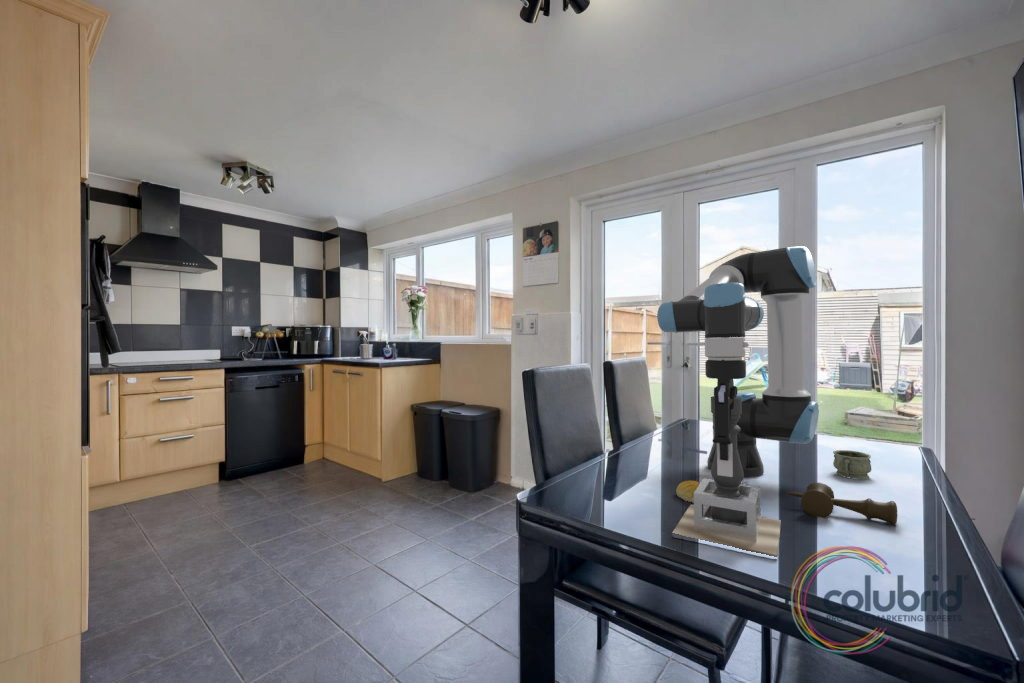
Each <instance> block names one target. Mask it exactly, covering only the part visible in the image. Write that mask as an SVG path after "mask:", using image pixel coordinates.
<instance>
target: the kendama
mask: <svg viewBox="0 0 1024 683" xmlns="http://www.w3.org/2000/svg"><path fill="white" fill-rule="evenodd" d="M785 493H786V495H789V496H792V497H797V498H801V499H800V503H801V508H802V509H803V510H804V512H805V513H806V514H808V515H809V516H812V517H815V518H823V519H824V518H827V517H828V518H829V517H830V516H831V514H832V513H833V510H834V508H835V507H839V508H843V509H846V510H849V511H852V512H855V513H857V514H860V515H862V516H864V517H865V518H866V519H868V520H871V519H876V520H880V521H883V522H885V523H888V524H889V525H890V526H892V527H895V526H896V525H897V523H898V506H897V503H896V502H895V501H894V500H890V501H887V502H881V501H880V502H879V501H875V500H872V498H866V499H864V500H861V499H860V500H855V499H854V500H853V499H840V498H835V494H834V490H833V489H832V488H831V486H829V485H827V484H826V483H822V482H812V483H809V484H808V486H807V487H806V491H804V492H803V493H802V492H801V493H800V492H794V491H785ZM834 506H835V507H834Z"/></svg>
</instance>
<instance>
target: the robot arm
mask: <svg viewBox="0 0 1024 683" xmlns="http://www.w3.org/2000/svg"><path fill="white" fill-rule="evenodd" d="M816 286H817V271H816V266H815V262H814V259H813V256H812V253H811V252H810V250H809V249H808V248H807V247H806V246H803V245H802V246H790V247H788V246H786V247H782V248H776V249H774V248H773V249H769V250H764V251H763V250H762V251H761V250H760V251H757V252H755V251H754V252H748V253H743V254H741V255H739V256H738V255H737V256H736V257H733V258H731V259H729V260H727V261H725V262H723V263H722V264H720V265H719V266H716V268H714V269H713V270H712V271H711V273H710V274H709V277H708V278H707V279H706V280H704V281H703V282H702V283H700V284H699V285H698V286H697V287H695V288H694V289H693V290H691V291H689V293H688V294H686V295H684V296H683V297H682V298H680V299H679V300H677V301H672V300H671V301H667V302H663V303H661V304H660V306H658V310H657V314H656V315H657V316H656V320H657V324H658V327H659V329H660V330H661V331H663V332H664V333H675V334H677V333H678V334H679V333H696V332H697V333H698V332H704V357H705V358H707V359H706V361H705V365H704V366H705V376H706V378H708V379H717V382H716V383H717V386H715V387H713V396H714V398H715V419H714V417H713V416H712V426H713V425H715V431H714V430H713V429H712V436H713V437H712V444H711V448H710V451H709V454H708V458H707V462H706V463H707V469H708V470H709V471H711V468H712V464H713V459H714V455H715V451H716V443H717V475H721V476H728V477H733V460H732V443H731V410H732V409H733V408H734V398H735V397H740V398H741V401H742V414H740V419H739V420H738V422H737V425H738V426H739V427H740V428H741V430H740V432H738V434H737V450H738V454H739V457H740V461H741V465H742V469H743V472H744V478H754V477H760V476H762V475H764V474H763V473H764V472H765V471H764V470H765V467H764V464H763V460H762V458H761V455H760V452H759V450H758V448H757V439H761V440H767V441H768V440H770V441H778V442H784V443H788V444H805V445H806V444H809V443H810V442H812V440H813V438H814V436H815V433H816V430H817V426H818V423H819V422H818V421H819V412H820V410H819V403H818V402H816V401H815V400H812V394H811V393H810V392H809V391H808V390H807V389H805V369H804V368H805V366H804V365H805V364H804V361H805V359H804V355H805V354H804V301H805V300H806V299H807V298H808V297H809V296H810V289H813V288H815V287H816ZM748 293H749V294H750V293H760V299H761V300H763V301H764V302H765V303H766V325H767V326H766V329H767V330H766V333H767V383H768V384H767V385H768V386H767V387H766V389H765V390H763V391H762V393H761V394H762V396H761V397H757V395H756V393H755V392H748V391H747V392H738V386H736V385H735V383H734V380H740V379H745V378H746V376H747V362H746V361H745V360H744V359H743V358H745V357H746V348H748V347H749V346H750V344H749V342H746V332H747V331H751V330H754V329H755V328H757V327H758V326H760V324H761V323H762V321H763V319H764V314H765V313H764V308H763V305H761V303H760V302H759V301H758V300H756V299H755V298H752V297H751V296H750V297H749V296H746V294H748ZM729 399H733V401H732V403H731V404H730V405H729ZM720 435H722V436H720Z"/></svg>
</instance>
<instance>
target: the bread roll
mask: <svg viewBox="0 0 1024 683" xmlns="http://www.w3.org/2000/svg"><path fill="white" fill-rule="evenodd" d="M700 483H701V481H696V480H684V481H682V482H680V483H679V484H678V485H677V487H676V489H675V490H676V491H675V492H676V495H677V497H678V498H680V499H682V500H683V501H685V502H687V501H688V503H691V502H692V504H694V492H695V490H696V489H697V487H698V486H699V484H700ZM713 492H714V491H711V493H712V494H713Z"/></svg>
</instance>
